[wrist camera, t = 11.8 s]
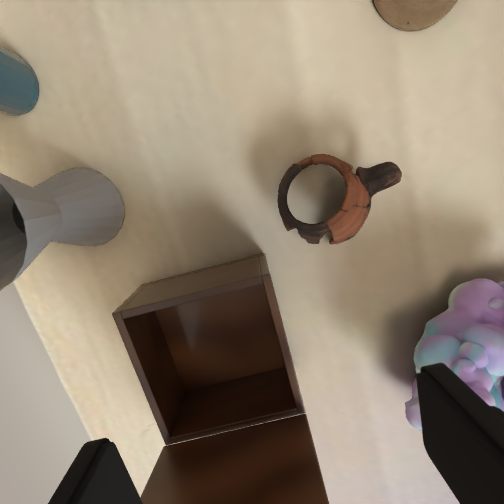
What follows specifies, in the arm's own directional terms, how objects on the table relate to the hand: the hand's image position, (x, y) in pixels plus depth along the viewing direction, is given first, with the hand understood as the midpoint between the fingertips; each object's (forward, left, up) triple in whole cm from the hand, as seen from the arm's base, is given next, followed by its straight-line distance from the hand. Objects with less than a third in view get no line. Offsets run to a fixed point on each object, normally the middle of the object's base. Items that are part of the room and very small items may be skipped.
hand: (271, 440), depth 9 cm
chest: (+10, -3, -26) cm, 28 cm away
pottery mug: (-7, +8, -26) cm, 28 cm away
